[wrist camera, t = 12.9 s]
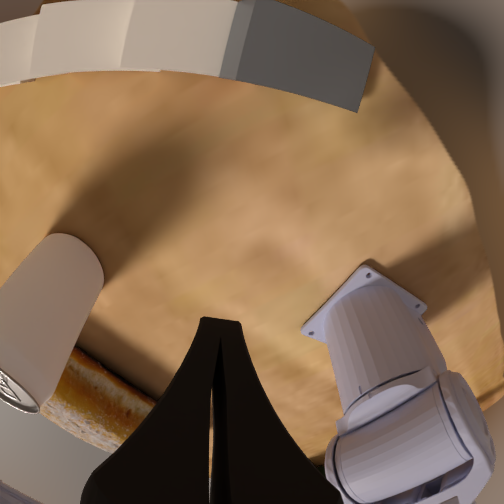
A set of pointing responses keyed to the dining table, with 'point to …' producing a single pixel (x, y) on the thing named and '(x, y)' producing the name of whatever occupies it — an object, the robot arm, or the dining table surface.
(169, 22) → the domino
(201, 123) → the dining table surface
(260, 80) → the domino
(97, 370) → the bread
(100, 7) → the domino
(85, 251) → the can
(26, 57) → the domino
